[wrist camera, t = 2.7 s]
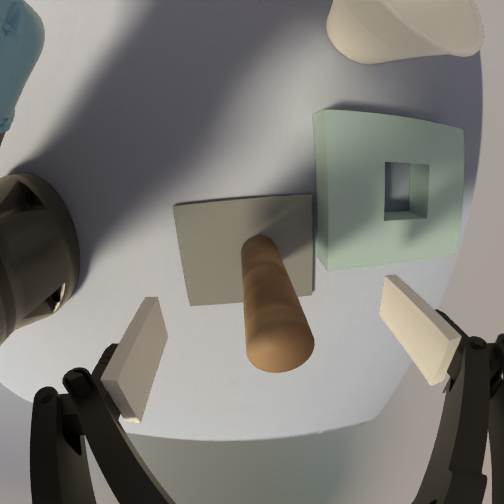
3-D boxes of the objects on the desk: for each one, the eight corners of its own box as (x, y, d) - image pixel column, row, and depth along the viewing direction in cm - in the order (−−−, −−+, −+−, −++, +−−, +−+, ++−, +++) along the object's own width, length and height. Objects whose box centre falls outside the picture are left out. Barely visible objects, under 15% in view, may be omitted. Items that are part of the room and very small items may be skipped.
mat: (190, 303, 24) (190, 306, 24) (174, 205, 21) (172, 206, 21) (310, 293, 25) (311, 295, 24) (310, 193, 22) (312, 194, 21)
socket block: (317, 256, 24) (327, 271, 21) (312, 114, 19) (323, 109, 17) (438, 244, 24) (456, 254, 21) (443, 128, 20) (463, 129, 17)
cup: (420, 66, 18) (501, 44, 7) (348, 102, 19) (430, 74, 9) (361, -14, 14) (415, -67, 4) (279, 12, 16) (308, -66, 6)
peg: (242, 271, 23) (249, 375, 12) (239, 236, 22) (243, 325, 11) (278, 267, 23) (312, 367, 12) (276, 233, 22) (316, 316, 11)
